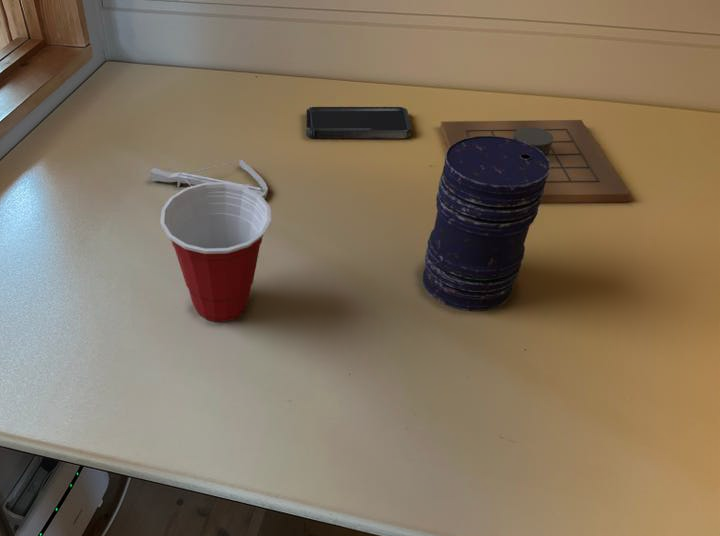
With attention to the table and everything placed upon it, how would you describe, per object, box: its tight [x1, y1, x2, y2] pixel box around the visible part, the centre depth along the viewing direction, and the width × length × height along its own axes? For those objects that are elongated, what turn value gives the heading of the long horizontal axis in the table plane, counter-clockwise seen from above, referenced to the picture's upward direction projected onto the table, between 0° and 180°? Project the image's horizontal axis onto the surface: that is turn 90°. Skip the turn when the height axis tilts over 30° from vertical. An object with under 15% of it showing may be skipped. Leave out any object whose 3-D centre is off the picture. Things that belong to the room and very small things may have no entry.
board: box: [439, 119, 632, 204], centre depth 96 cm, size 20×20×1 cm
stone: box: [513, 127, 554, 158], centre depth 95 cm, size 5×5×3 cm
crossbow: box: [149, 159, 269, 201], centre depth 93 cm, size 16×13×2 cm
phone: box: [305, 106, 412, 139], centre depth 105 cm, size 8×1×15 cm
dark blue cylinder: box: [422, 136, 550, 312], centre depth 73 cm, size 10×10×15 cm
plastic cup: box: [160, 182, 272, 323], centre depth 73 cm, size 11×11×12 cm
